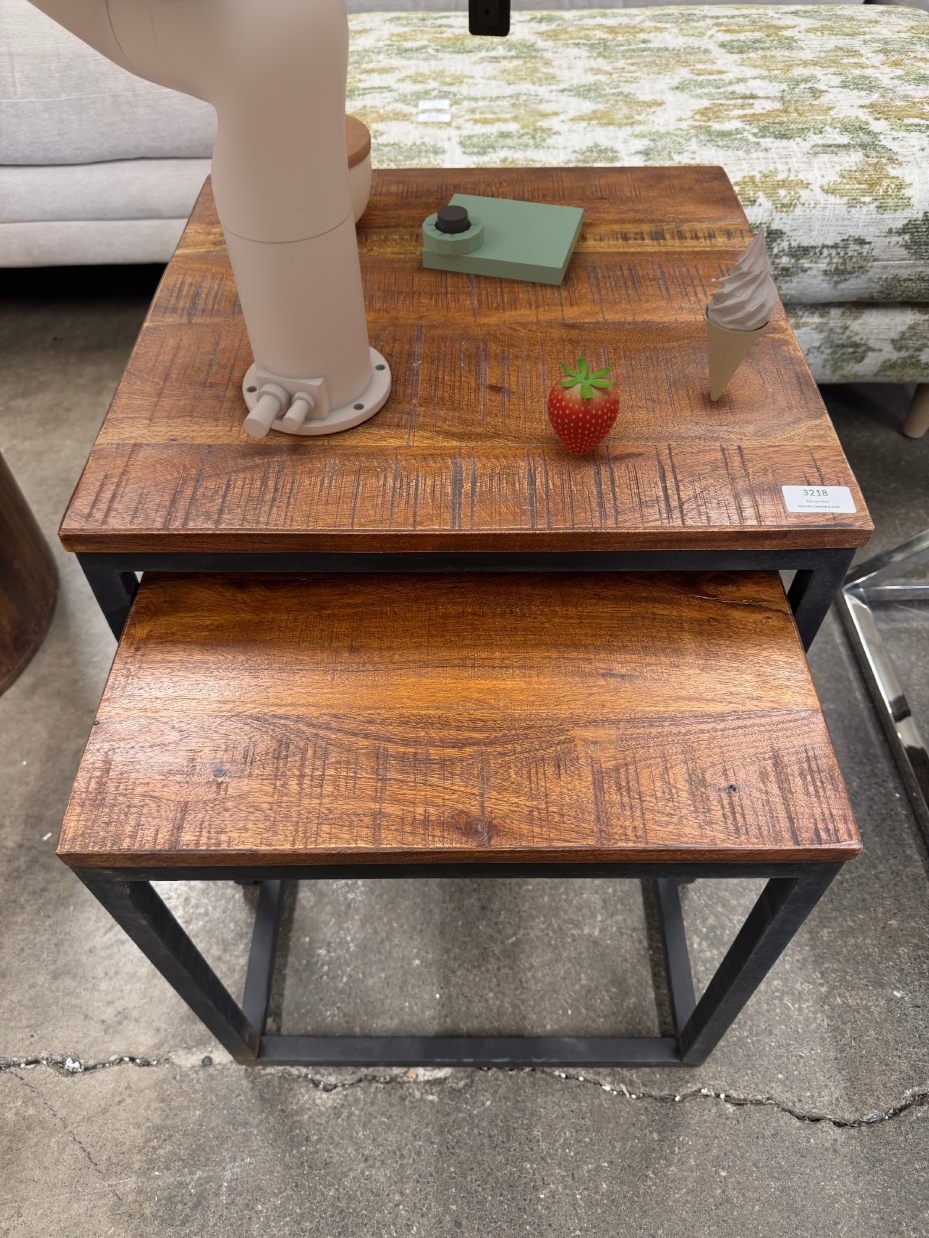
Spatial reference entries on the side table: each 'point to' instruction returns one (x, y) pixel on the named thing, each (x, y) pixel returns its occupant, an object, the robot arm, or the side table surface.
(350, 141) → the lidded bowl
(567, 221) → the scale
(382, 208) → the side table surface
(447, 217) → the button
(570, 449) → the fruit
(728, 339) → the ice cream cone
